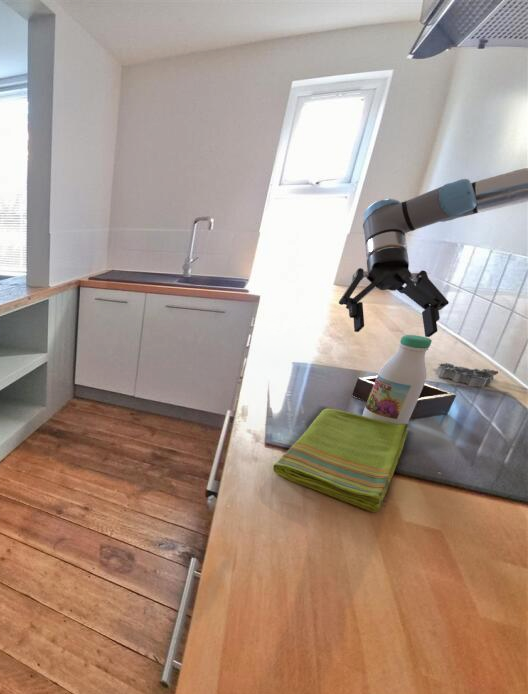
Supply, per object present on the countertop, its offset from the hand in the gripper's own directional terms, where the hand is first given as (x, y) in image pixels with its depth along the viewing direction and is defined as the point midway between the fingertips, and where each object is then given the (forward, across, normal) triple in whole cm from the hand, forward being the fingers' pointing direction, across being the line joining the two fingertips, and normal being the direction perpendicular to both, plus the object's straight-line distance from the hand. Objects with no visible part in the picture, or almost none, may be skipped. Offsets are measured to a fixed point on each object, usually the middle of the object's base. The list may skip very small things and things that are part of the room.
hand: (394, 331), depth 94 cm
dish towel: (+33, +14, +7) cm, 37 cm away
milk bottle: (+20, +1, -6) cm, 21 cm away
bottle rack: (+12, -7, -14) cm, 20 cm away
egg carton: (-5, -32, -32) cm, 45 cm away
